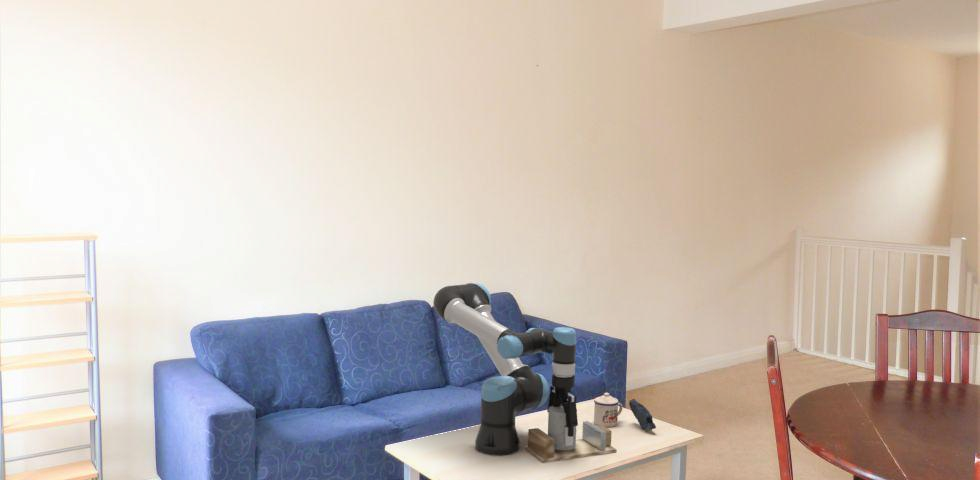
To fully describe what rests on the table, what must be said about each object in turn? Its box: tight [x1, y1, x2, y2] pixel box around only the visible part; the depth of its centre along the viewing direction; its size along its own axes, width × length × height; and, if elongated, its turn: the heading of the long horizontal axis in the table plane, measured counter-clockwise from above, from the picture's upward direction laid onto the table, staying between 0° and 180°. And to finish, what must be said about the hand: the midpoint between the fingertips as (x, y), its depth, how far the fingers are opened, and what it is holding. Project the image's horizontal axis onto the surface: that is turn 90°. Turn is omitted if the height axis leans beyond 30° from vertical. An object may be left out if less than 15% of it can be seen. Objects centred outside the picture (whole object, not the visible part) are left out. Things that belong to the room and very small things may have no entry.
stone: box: [628, 398, 657, 431], centre depth 285 cm, size 14×6×10 cm, turn 39°
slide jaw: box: [581, 420, 612, 450], centre depth 265 cm, size 6×12×6 cm, turn 23°
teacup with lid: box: [593, 392, 623, 428], centre depth 290 cm, size 12×9×12 cm
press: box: [524, 427, 617, 463], centre depth 260 cm, size 28×13×7 cm, turn 113°
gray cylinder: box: [547, 405, 577, 450], centre depth 259 cm, size 10×10×12 cm
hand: (561, 440), depth 259 cm, fingers closed on gray cylinder, 9 cm apart
